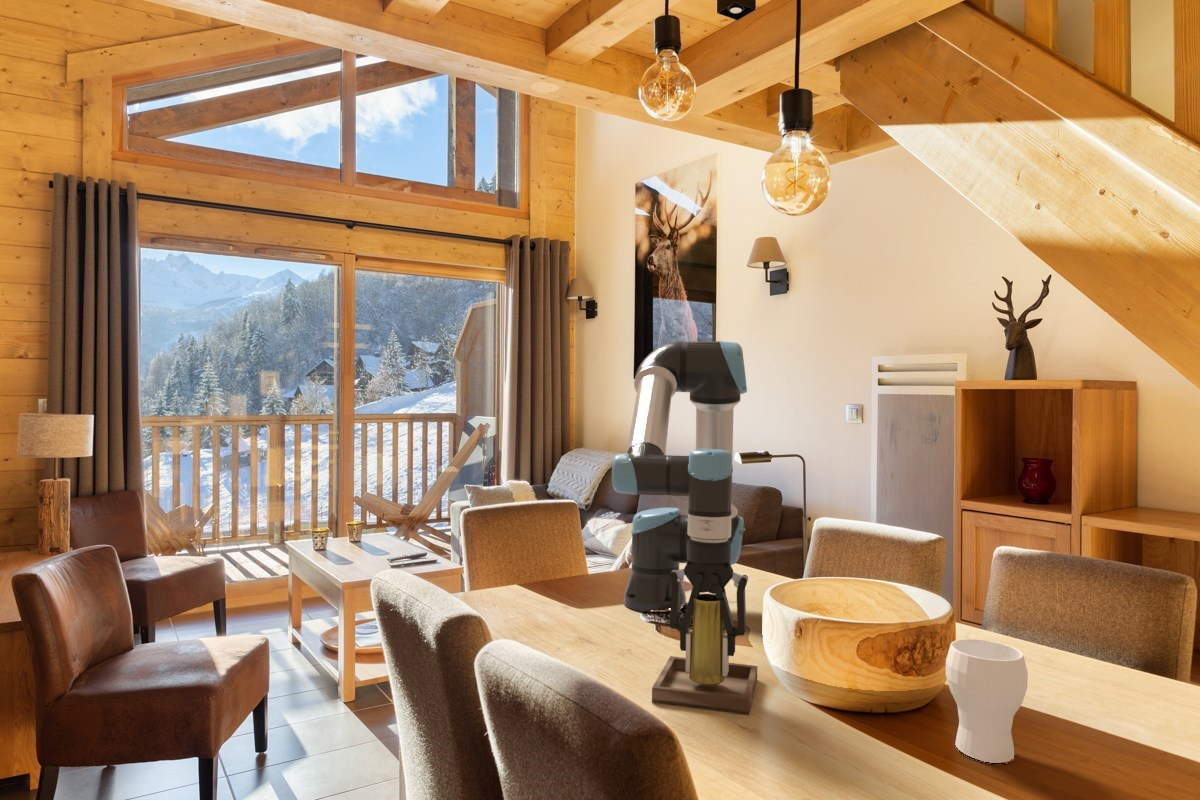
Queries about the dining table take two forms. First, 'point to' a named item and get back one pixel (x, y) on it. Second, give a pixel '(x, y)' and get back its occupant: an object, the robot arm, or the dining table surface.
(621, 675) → the dining table surface
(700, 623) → the vase
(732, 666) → the walnut tray
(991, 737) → the cup
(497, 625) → the dining table surface
